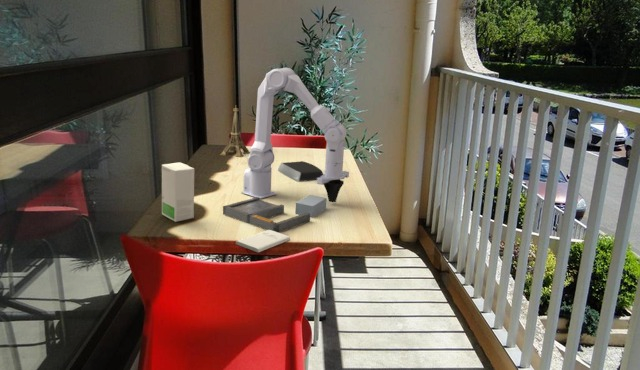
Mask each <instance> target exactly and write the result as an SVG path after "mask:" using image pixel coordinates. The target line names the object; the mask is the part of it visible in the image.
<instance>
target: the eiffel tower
mask: <svg viewBox="0 0 640 370" xmlns="http://www.w3.org/2000/svg"><path fill="white" fill-rule="evenodd" d="M232 109H233V110H232V111H233V120H232V128H231V132H230V139H229V141H228V142H227V145H226V146H225V147H224V149H223V150H222V152H221V153H220V154H219V156H227V155H229V153H235V152H236V155H235V157H236V158H242V157H244V154H245V155H250V152H251V151H249V149H248V148H247V146H246V145H245V144H244V141H243V139H242V136H241V134H242V132H241V131H240V124H239V123H240V122H239V114H238V112H239V111H240V110H239V108H237V106H235V108H232ZM240 148H241V149H240ZM241 150H242V151H241Z"/></svg>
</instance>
